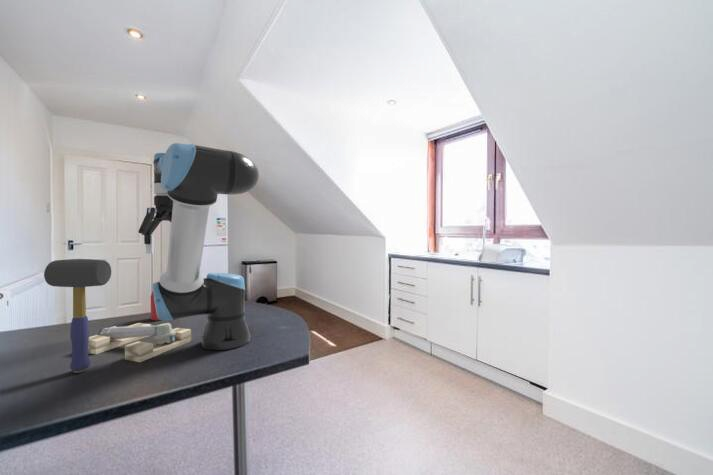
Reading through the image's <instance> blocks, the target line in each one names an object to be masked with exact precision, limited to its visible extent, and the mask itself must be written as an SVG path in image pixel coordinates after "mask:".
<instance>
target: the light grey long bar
mask: <svg viewBox="0 0 713 475" xmlns="http://www.w3.org/2000/svg"><path fill="white" fill-rule="evenodd" d="M128 326H129V327H128ZM128 326H116V325H113V326H110V327H104V328H102V329H100V330H99V332H98V333H97V335H100V336H106V337H110V341H113V340H115V339H123V338H133V337H142V336H148V337H151V336H153V339H155V343H156V344H158V345H160V344H164V343H166V342H167V343H170V342H173V341H175V334H176V331H172V329H173V328H172V327H173V326H172V324H171V322H165V323H160V324H156V325H151V326H130V325H128Z"/></svg>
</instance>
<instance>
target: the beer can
mask: <svg viewBox="0 0 713 475" xmlns="http://www.w3.org/2000/svg"><path fill="white" fill-rule="evenodd" d="M150 320H151V321H154V322H157V321H159V322H160V321H161V320H160V319H158V317H157V313H156V308H155V301H154V294H153V290H152V291H151V294H150Z"/></svg>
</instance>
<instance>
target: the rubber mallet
mask: <svg viewBox="0 0 713 475" xmlns="http://www.w3.org/2000/svg"><path fill="white" fill-rule="evenodd" d="M43 272H44V274H43V277H44V281H45V282H46V284H48V285H49V286H51V287H58V288H59V287H60V288H72V319H71V322H70V331H69V333H70V342H71V361H70V366H69V367H70V370H71V371H72V372H73V373H74V374H77V373H78V374H79V373H83V372H85V371H87V370H88V368H89V367H90V365H91V360H90V355H89V353H88V340H89V337H90V325H89V318H88V316H87V310H86V308H87V306H86V305H87V304H86V301H87V300H86V299H87V298H86V288H87V287H103V286H104V285H106V284H107V283H108V282H109V281H110V279H111V277H112V266H111V264H110V263H109V262H108V261H107V260H105V259H94V258H93V259H90V258H87V259H86V258H72V259H68V258H67V259H56V260H53V261H51V262H49V263H48V264H47V265H46V266H45V269H44V271H43Z"/></svg>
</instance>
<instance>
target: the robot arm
mask: <svg viewBox="0 0 713 475" xmlns="http://www.w3.org/2000/svg"><path fill="white" fill-rule="evenodd" d="M165 151H166V152H155V153H154V156H153V194H154V197H153V206H155V207H147V208H146V214H145V215H144V218H143V220H142V222H141V224H140V227H139V229H138V231H137V232H138V233H139V234H141V235H142V236H143V238H144V239H143V240H144V245H145V254H146V255H147V254H151V255H153V254H155V252H154V251H155V248H154V247H155V240H154V238H155V236H154V235H153V233H154V232H155V230H156V229H157V227H158V226H159V224H160V223H161V222H163V221H167V222H170V223H171V224H170V232H169V233H170V234H169V244H168V253H167V254H168V255H167V261H166V262H167V266H166V271H164V272H163V273H162V274H161V275H160V277H159V281H156V282H154V283H152V291H153V294H154V301H155V308H156V313H157V317H158V319H160V320H159V321H164V322H165V321H166V322H167V321H176V320H180V319H187V318H191V317H192V318H193V317H198V316H206V315H207V318H206V319H207V321H206V325H205V327H204V330H203V335H202V336H201V347H202V348H203V349H205V350H210V351H224V350H231V349H235V348H239V347H240V348H241V347H242V346H245V345H247V343H249V342H250V341H251V333H250V330H249V326H248V323H247V320H246V317H245V312H246V310H245V309H246V308H245V307H246V306H245V305H246V304H245V303H246V302H245V301H246V298H245V295H246V293H245V291H246V286H245V279H244V277H243V276H242V275H241V274H236V273H227V272H226V273H225V272H209V273H207V275H206V277H205V278H204V276H203V275H202V273H200V272H201V267H202V266H201V265H202V259H203V258H202V257H203V253H204V245H205V239H206V238H205V237H206V232H207V231H206V230H207V224H208V220H209V219H208V217H209V213H210V212H209V211H210V206H213V205H215V204H216V202H217V200H218V195H234V196H235V195H241V194H245V193H248V192H249V191H251V190H252V189H254V188H255V187H256V185H257V183H258V181H259V178H260V177H259V176H260V175H259V174H260V173H259V171H258V170H259V169H258V167H257V165H256V163H255V162H254V161H253V160H252V159H251V158H249V157H248V156H246V155H245V154H242V153H240V152H237V151H233V150H226V149H225V150H224V149H220V148H213V147H209V146H208V147H207V146H203V145H197V144H196V145H195V144H193V143H189V144H187V143H180V142H179V143H178V142H175V143H174V142H173V143H172V144H170V145H169V146H168V147H167V149H166V150H165Z"/></svg>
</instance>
